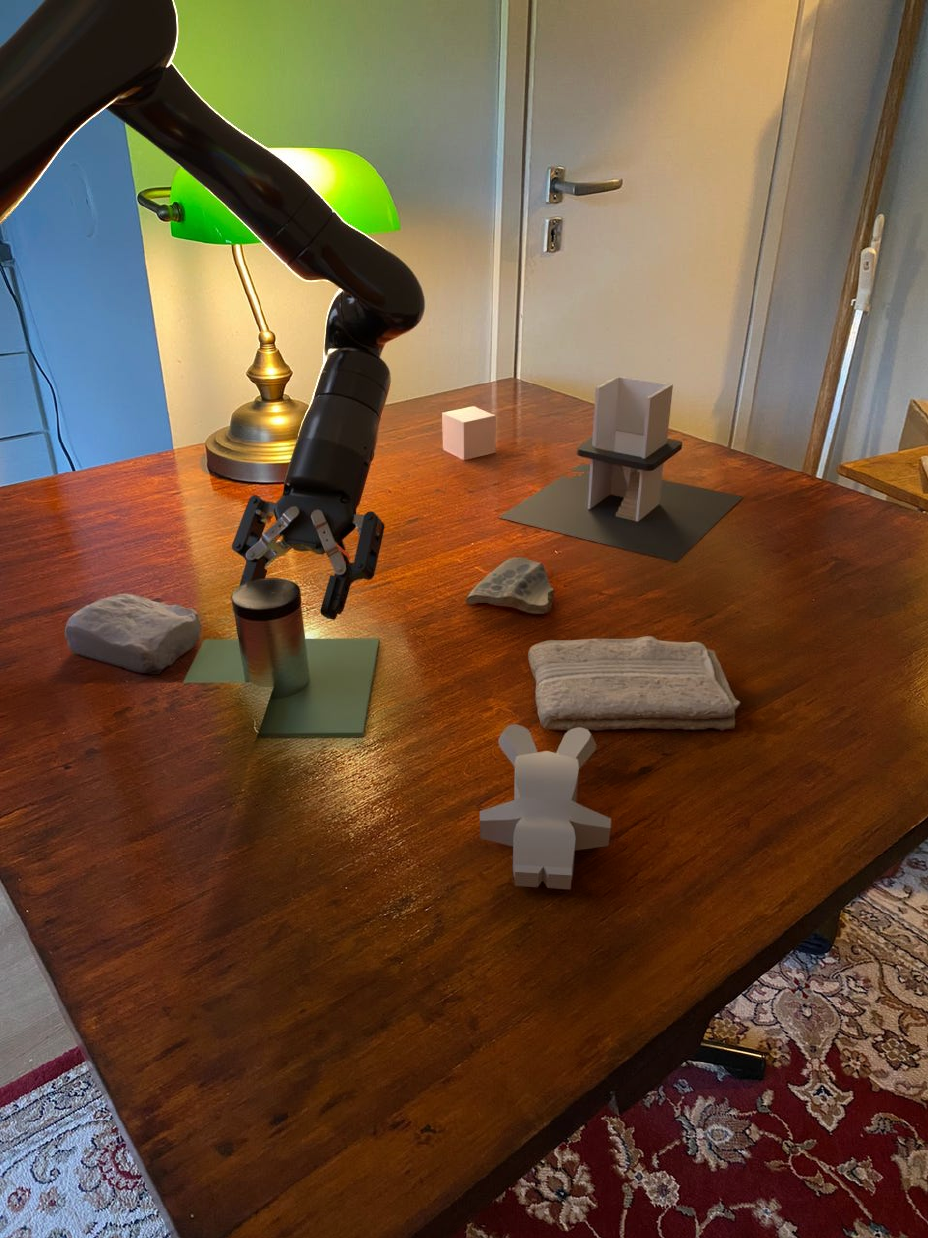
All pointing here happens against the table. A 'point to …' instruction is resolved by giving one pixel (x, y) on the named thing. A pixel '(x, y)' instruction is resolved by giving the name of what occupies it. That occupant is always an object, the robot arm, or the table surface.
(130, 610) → the stone block
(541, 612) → the ceramic fragment
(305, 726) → the mat
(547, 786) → the bunny figurine
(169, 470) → the table surface
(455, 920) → the table surface
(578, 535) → the box stand
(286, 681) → the thermos cup
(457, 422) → the white cube
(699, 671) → the washcloth
